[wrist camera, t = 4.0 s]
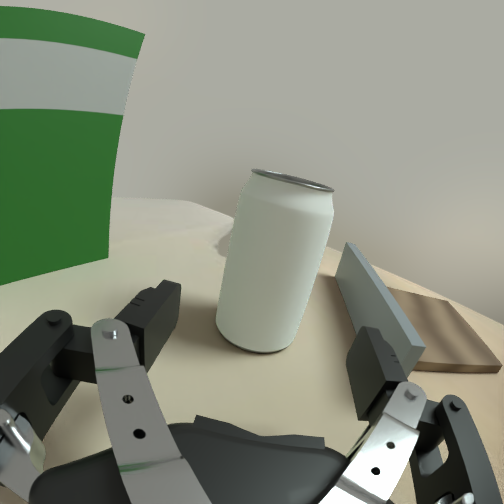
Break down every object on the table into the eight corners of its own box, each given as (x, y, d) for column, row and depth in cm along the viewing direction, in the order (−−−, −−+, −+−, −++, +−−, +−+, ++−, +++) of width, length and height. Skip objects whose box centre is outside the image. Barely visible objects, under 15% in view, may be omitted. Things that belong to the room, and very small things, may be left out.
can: (209, 305, 24) (236, 164, 20) (278, 308, 26) (313, 180, 22) (222, 356, 18) (261, 175, 14) (306, 354, 20) (359, 198, 16)
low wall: (342, 278, 37) (354, 244, 35) (391, 400, 16) (426, 347, 14) (334, 276, 37) (346, 241, 35) (377, 400, 16) (412, 345, 14)
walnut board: (444, 306, 34) (447, 301, 34) (497, 372, 19) (502, 365, 19) (355, 286, 35) (357, 280, 34) (392, 367, 20) (398, 358, 19)
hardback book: (81, 236, 31) (110, 47, 23) (108, 257, 28) (145, 34, 20) (-42, 263, 16) (-21, 33, 8) (-40, 297, 13) (-16, 6, 5)
